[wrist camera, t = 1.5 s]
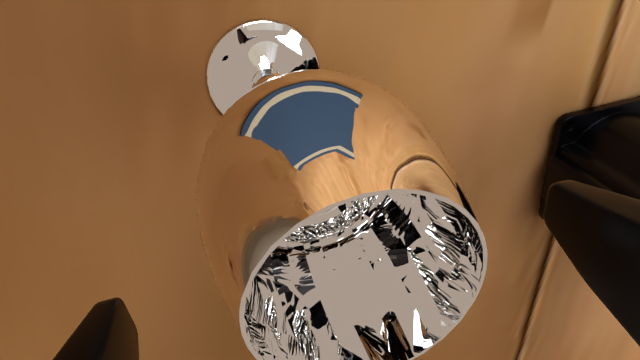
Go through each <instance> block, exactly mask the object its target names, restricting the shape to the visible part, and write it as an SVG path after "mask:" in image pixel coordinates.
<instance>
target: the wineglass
mask: <svg viewBox="0 0 640 360" xmlns="http://www.w3.org/2000/svg"><path fill="white" fill-rule="evenodd" d="M206 83H207V87H208V91H209V95H210V97H211V99H212V101H213V103H214V104H215V106H216V108H217V109H218V110H219V111H220V112H221V113H222V114H223V116H222V117H221V119H220V120H219V121H218V123H217V124H216V126H215V127H214V129H213V131H212V133H211V134H210V136H209V138H208V140H207V143H206V146H205V149H204V153H203V156H202V160H201V163H200V167H199V173H198V178H197V189H196V206H197V218H198V224H199V230H200V236H201V240H202V244H203V247H204V250H205V253H206V256H207V259H208V262H209V266H210V269H211V272H212V274H213V277H214V280H215V282H216V284H217V286H218V288H219V291H220V293H221V295H222V297H223V299H224V300H225V302H226V304H227V306H228V308H229V310H230V312H231V314H232V316H233V318H234V320H235V322H236V324H237V326H238V328H239V330H240V332H241V334H242V336H243V339H244V341H245V343H246V346H247V348H248V349H249V350H250V352H251V353H252V354H253V356H254V357H255V358H256V359H257V360H413V359H415V358H416V357H418V356H420V355H422V354H423V353H425V352H426V351H427V350H429V349H430V348H431V347H433V346H434V345H435V344H437V343H438V342H439V341H441V340H442V339H443V338H444V337H445V336H446V335H447V334H448V333H449V332H450V331H451V330H452V329H453V328H454V327H455V326H456V325H457V324H458V323H459V322H460V321H461V320H462V319H463V317H464V316H465V314H466V313H467V311H468V310H469V308H470V307H471V305H472V304H473V303H474V301H475V300H476V298H477V296H478V294H479V291H480V289H481V287H482V284H483V281H484V278H485V273H486V268H487V247H486V242H485V237H484V234H483V232H482V230H481V227H480V225H479V223H478V220H477V218H476V216H475V213H474V211H473V209H472V206H471V204H470V202H469V199H468V197H467V195H466V192H465V190H464V188H463V186H462V184H461V183H460V181H459V179H458V177H457V175H456V173H455V171H454V169H453V167H452V166H451V164H450V162H449V160H448V159H447V157H446V155H445V154H444V152H443V150H442V149H441V147H440V146H439V144H438V143H437V141H436V140H435V139H434V137H433V136H432V134H431V133H430V132H429V130H428V129H427V128H426V126H425V125H424V124H423V123H422V121H421V120H420V119H419V118H418V117H417V116H416V115H415V114H414V113H413V112H412V111H411V110H410V109H409V108H408V107H407V106H406V105H405V104H404V103H403V102H401V101H400V100H399V99H398V98H397V97H395V96H394V95H392V94H391V93H390V92H388V91H387V90H385V89H383V88H381V87H379V86H377V85H375V84H374V83H372V82H370V81H368V80H366V79H364V78H361V77H357V76H354V75H351V74H348V73H345V72H341V71H335V70H328V69H320V68H319V61H318V58H317V55H316V52H315V50H314V48H313V46H312V45H311V43H310V42H309V40H308V39H307V38H306V37H305V36H304V35H303V34H302V33H301V32H300V31H299V30H297V29H296V28H294V27H292V26H290V25H289V24H287V23H284V22H280V21H277V20H270V19H258V20H252V21H247V22H245V23H243V24H240V25H238V26H236V27H234V28H233V29H231V30H230V31H228V32H227V33H226V34H225V35H224V36H223V37H222V38H221V39H220V40H219V41H218V42H217V44H216V45H215V47H214V48H213V50H212V52H211V54H210V57H209V60H208V64H207V76H206Z"/></svg>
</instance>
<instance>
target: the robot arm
mask: <svg viewBox="0 0 640 360" xmlns="http://www.w3.org/2000/svg"><path fill="white" fill-rule="evenodd" d="M567 123H568V124H567ZM566 124H567V125H566ZM539 216H540V217H541V218H542V219H543V220H544V221H545V223H546V225H547V227H548V228H549V230H550V231H551V233H552V234H553V236H554V237H555V239H556V240H557V241H558V243H559V244H560V246H561V247H562V249H563V250H564V252H565V253H566V255H567V256H568V258H569V259H570V260H571V262H572V263H573V265H574V266H575V268H576V269H577V271H578V272H579V273H580V275H581V276H582V278H583V279H584V280H585V282H586V283H587V284H588V285H589V287H590V288H591V289H592V290H593V292H594V293H595V294H596V295H597V296H598V298H599V299H600V300H601V301H602V302H603V303H604V305H605V306H606V307H607V308H608V309H609V311H610V312H611V313H612V314H613V315H614V317H615V318H616V319H617V320H618V321H619V322H620V324H621V325H622V326H623V327H624V328H625V330H626V331H627V332H628V333H629V334H630V336H631V337H632V338H633V339H634V340H635V341H636V343H637V344H638V345H639V346H640V96H638V97H634V98H630V99H625V100H621V101H617V102H613V103H609V104H604V105H600V106H596V107H592V108H588V109H583V110H579V111H575V112H571V113H566V114H564V115H562V116H561V117H560V118H559V119H558V120H557V122H556V124H555V129H554V134H553V140H552V145H551V150H550V155H549V161H548V166H547V171H546V177H545V182H544V187H543V193H542V198H541V203H540V208H539ZM53 360H139V348H138V333H137V329H136V326H135V324H134V322H133V320H132V318H131V316H130V314H129V312H128V310H127V308H126V306H125V304H124V302H123V301H122V300H121V298H112V299H108V300H105V301H101V302H98V303H97V304H95V305H94V306H93V308H92V309H91V310H90V312H89V313H88V314H87V316H86V317H85V318H84V320H83V321H82V322H81V323H80V325H79V326H78V327H77V329H76V330H75V331H74V333H73V334H72V335H71V336H70V338H69V339H68V340H67V342H66V343H65V344H64V346H63V347H62V348H61V350H60V351H59V352H58V353H57V355H56V356H55V357H54V359H53Z"/></svg>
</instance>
